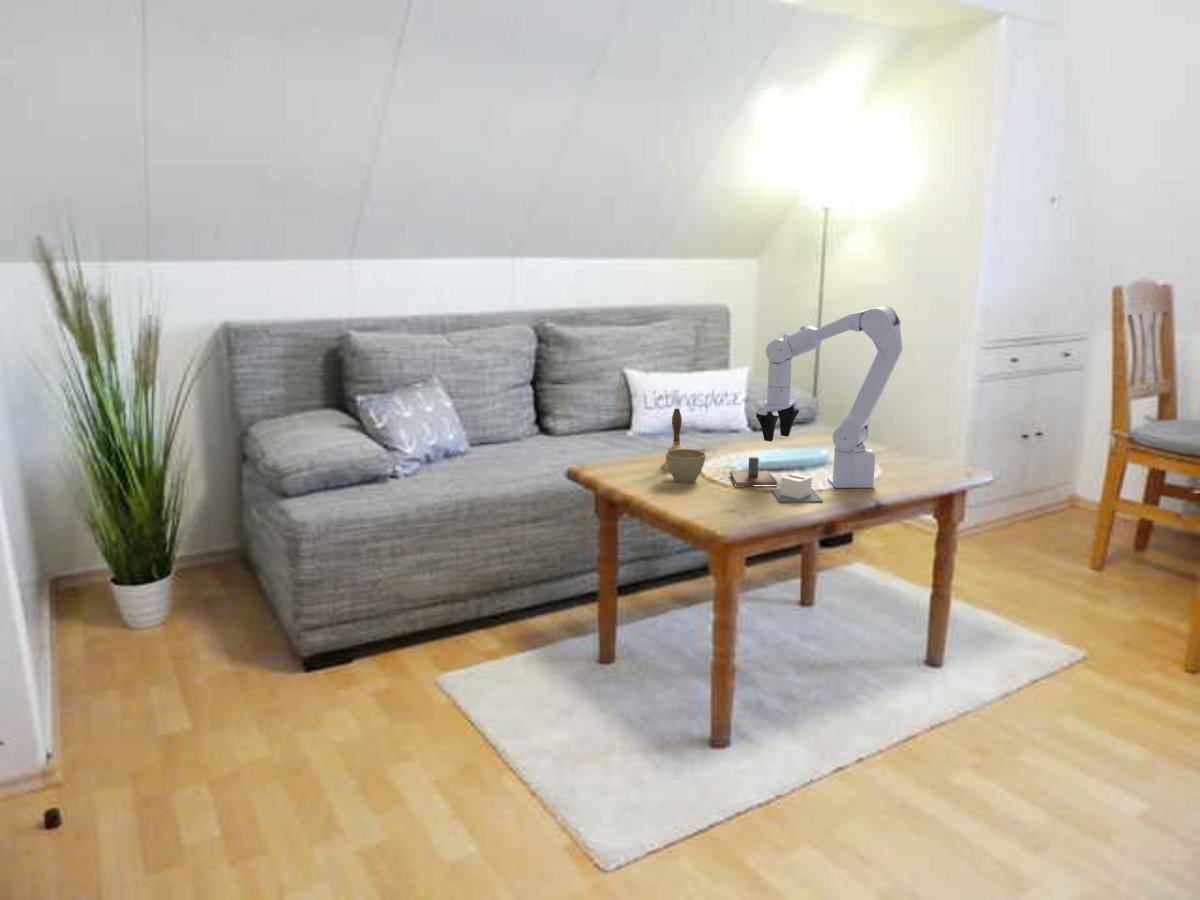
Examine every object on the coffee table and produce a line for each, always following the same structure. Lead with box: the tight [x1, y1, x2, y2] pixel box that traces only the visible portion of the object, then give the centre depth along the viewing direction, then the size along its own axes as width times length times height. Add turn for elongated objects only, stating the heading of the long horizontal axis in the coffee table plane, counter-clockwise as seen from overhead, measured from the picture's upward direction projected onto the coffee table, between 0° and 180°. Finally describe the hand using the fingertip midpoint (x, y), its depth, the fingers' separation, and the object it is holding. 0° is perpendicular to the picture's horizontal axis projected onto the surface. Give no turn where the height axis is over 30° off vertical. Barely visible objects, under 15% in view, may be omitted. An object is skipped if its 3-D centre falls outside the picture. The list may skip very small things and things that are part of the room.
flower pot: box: [665, 448, 707, 484], centre depth 216 cm, size 10×10×7 cm
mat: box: [771, 487, 824, 504], centre depth 203 cm, size 10×10×1 cm
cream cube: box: [780, 472, 813, 499], centre depth 203 cm, size 5×5×4 cm
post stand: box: [729, 456, 778, 487], centre depth 215 cm, size 10×10×6 cm
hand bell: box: [660, 408, 686, 472], centre depth 227 cm, size 8×8×16 cm
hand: (776, 438), depth 220 cm, fingers open, 7 cm apart
